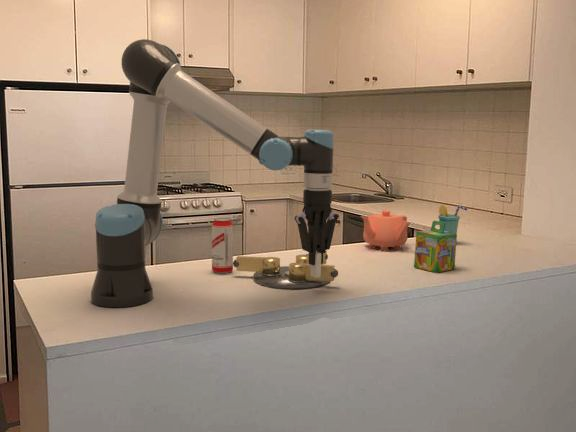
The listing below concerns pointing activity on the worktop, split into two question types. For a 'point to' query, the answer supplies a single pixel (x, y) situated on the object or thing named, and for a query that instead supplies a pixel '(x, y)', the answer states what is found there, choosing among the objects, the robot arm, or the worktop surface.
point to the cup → (449, 219)
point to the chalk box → (435, 249)
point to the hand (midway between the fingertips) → (315, 276)
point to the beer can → (222, 245)
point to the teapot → (385, 230)
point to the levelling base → (285, 281)
